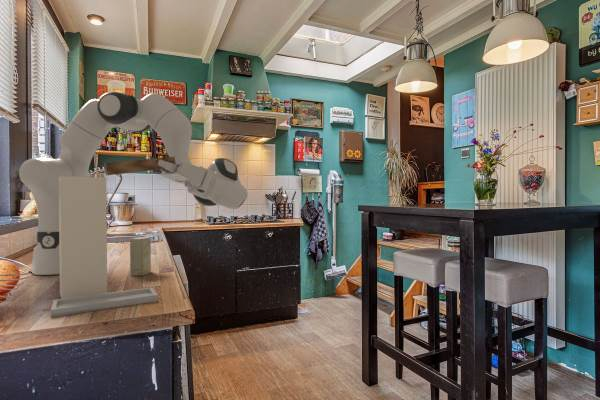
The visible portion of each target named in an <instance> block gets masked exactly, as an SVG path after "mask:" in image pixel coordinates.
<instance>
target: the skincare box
mask: <svg viewBox="0 0 600 400" xmlns="http://www.w3.org/2000/svg"><path fill="white" fill-rule="evenodd" d="M151 249H152V247H151V237H150V236H141V237H140V236H139V237H138V236H137V237H133V238H130V239H129V250H130V251H129V252H130V253H129V256H130V257H129V258H130V259H129V260H130V261H129V262H130V263H129V266H130V267H129V268H130V269H129V271H130V275H129V276H139V277H140V276H145V275H147V274H150V273H152V261H151V260H152V259H151V257H152V255H151V254H152V251H151Z"/></svg>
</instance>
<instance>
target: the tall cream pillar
mask: <svg viewBox="0 0 600 400" xmlns="http://www.w3.org/2000/svg"><path fill="white" fill-rule="evenodd" d="M107 204H108V203H107V177H105V176H102V177H99V176H97V177H96V176H90V177H69V176H60V177H59V255H60V274H59V296H60V299H65V298H73V297H80V296H88V295H96V294H104V293H108V229H107V227H108V226H107V225H108V224H107V223H108V222H107V221H108V220H107V219H108V218H107V217H108V216H107V215H108V213H107V212H108V210H107V207H108V206H107Z"/></svg>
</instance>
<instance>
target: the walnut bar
mask: <svg viewBox="0 0 600 400" xmlns="http://www.w3.org/2000/svg"><path fill="white" fill-rule="evenodd" d="M158 160H163V161H166V162H169V163H173V164H176V163H175V157H167V156H165V157H158V158H157V157H156V158H154V157H153V158H145V159H134V160H133V159H132V160H126V161H125V160H123V161H115V162H114V161H113V162H104V163H103V166H104V173H105V176H113V175H115V176H116V175H121V174H132V173H139V172H140V173H141V172H149V171H157V170H158V171H159V170H160V169H165V168H162V167H160V166H157V162H158Z"/></svg>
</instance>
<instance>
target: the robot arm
mask: <svg viewBox="0 0 600 400" xmlns="http://www.w3.org/2000/svg"><path fill="white" fill-rule="evenodd" d="M116 127H117V128H120V129H123V130H126V131H129V132H132V133H144V132H147V131H149V129H151V128H152V130H153V131H154V132H155V133H157V135H158V136H159V138H160V140H161V141H162V143H163V146H164V149H165V154H166V157H175V163H176V164H173V163H169V162H166V161H163V160H158V162H157V166H160V167H162V168H165V169H159V170H160V171H161V174H160V175H161V177H163V178H166V180H167V179H168V180H170V181H173V182H176V183H178V184H181V185H184V187H185V188H187V192H188V193H189V194H192V196H193V197H194V199H195V200H196V202H197V203H199V204H200V205H202V206H205V207H213V206H217V205H218V206H221V207H224V208H226V209H227V208H228V209H232V210H238V209H239V208H240V207H241V206H242V205H243V204H244V202H245V201H246V199H247V198H248V190H247V188H246V187H245V186H243V185H242V183H241V181H240V179H239V171H238V168H237V164H235V162H233V161H232V160H230V159H228V158H224V157H219V158H218V157H217V158H215V159H214V160H213V161H212V162H211V163H210V164H209V166H208V168H205V167H203V166H200V165H199V166H198V165H194V164H193V163H192V162H191V160H190V157H189V150H190V149H189V148H190V143H191V139H192V135H193V127H192V124H191V121H190V119H189V118H188V117H187V115H185V114H184V113H183V112H182V111H181V110H180V108H178V107H177V106H176V105H175V104H174V103H172V101H170V100H169V99H167V98H166V97H165V96H163V95H161V94H159V93H158V92H157V93H156V92H155V93H153V92H152V93H149V94H147V95H145V96H144V97H143V98H141V99H137V98H136V97H135V95H131V94H126V93H123V92H119V91H107V92H105V93H103V94H102V95H101V96H100V97H99V98H98V99H96V98H94V99H93V98H92V99H90V100H88V101H87V102H86V103H85V104H84V105H83V106H82V107H81V108H80V109H79V110H78V111H77V112H76V114H75V115H74V116H73V118H72V119H71V120H70V123H68V125H67V126H66V128H65V130H64V131H63V133H62V134H61V136H60V138H59V143H60V145H61V151H60V154H59V156H58V158H51V157H35V158H34V157H33V158H29V159H27V160H25V161H24V162H23V163H22V164H21V166H20V167H19V172H18V175H19V179H20V182H22V183H23V185H24V186H26V187H27V189H28V190H29V191H30V192H31V195H32V197H33V199H34V201H35V204H36V208H37V221H38V222H37V224H38V226H37V228H38V231H37V232H36V242H37V245H35V247H34V248H33V253H32V262H31V269H32V275H36V276H37V275H38V276H53V275H60V255H59V177H60V176H69V177H91V173H90V171H89V169H90V165H91V162H92V160H93V157H94V155H95V154H96V151H97V150H98V148H99V147H100V146H101V145H102V143H103V141H104V139H105V138H106V136H107V135H108V134H109V132H110V131H111V130H112V129H113V128H116Z"/></svg>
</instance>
